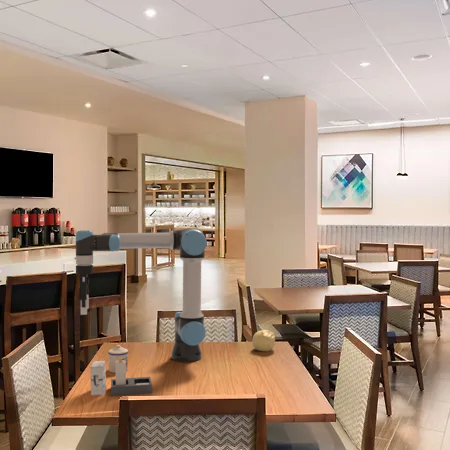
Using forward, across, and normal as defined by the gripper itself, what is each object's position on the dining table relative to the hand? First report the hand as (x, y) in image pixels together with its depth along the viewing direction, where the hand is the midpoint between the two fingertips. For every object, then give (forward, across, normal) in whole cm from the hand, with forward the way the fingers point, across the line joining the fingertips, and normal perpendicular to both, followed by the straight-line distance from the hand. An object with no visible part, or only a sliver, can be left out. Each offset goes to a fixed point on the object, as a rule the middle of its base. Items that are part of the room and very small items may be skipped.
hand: (84, 311), depth 238 cm
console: (+28, +29, +20) cm, 45 cm away
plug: (+27, +29, +16) cm, 43 cm away
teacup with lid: (+28, -2, +15) cm, 32 cm away
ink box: (+28, +28, +7) cm, 40 cm away
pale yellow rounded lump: (+28, -22, +90) cm, 97 cm away
